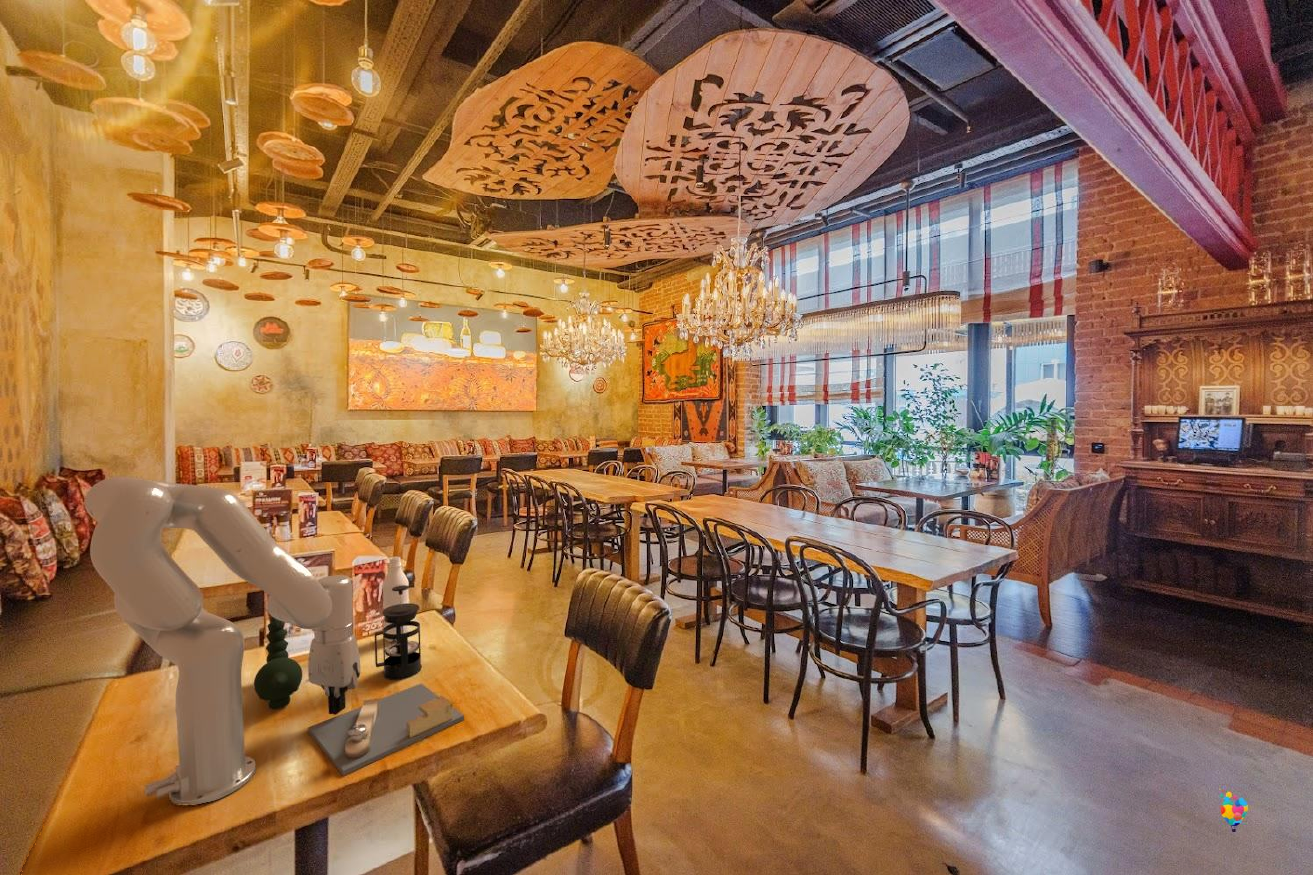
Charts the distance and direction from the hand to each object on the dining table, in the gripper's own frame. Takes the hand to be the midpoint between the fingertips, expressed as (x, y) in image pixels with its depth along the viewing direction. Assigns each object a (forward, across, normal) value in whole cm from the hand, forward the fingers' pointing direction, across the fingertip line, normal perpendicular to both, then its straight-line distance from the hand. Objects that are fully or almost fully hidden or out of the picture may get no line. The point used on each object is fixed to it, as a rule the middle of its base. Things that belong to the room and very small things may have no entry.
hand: (337, 710), depth 123 cm
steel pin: (-2, +14, -10) cm, 17 cm away
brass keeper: (+1, +22, +1) cm, 22 cm away
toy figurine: (+2, -22, +6) cm, 23 cm away
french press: (+2, -1, +23) cm, 23 cm away
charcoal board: (+2, +12, 0) cm, 13 cm away
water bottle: (+2, -15, +40) cm, 43 cm away
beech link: (+1, +10, -4) cm, 11 cm away
